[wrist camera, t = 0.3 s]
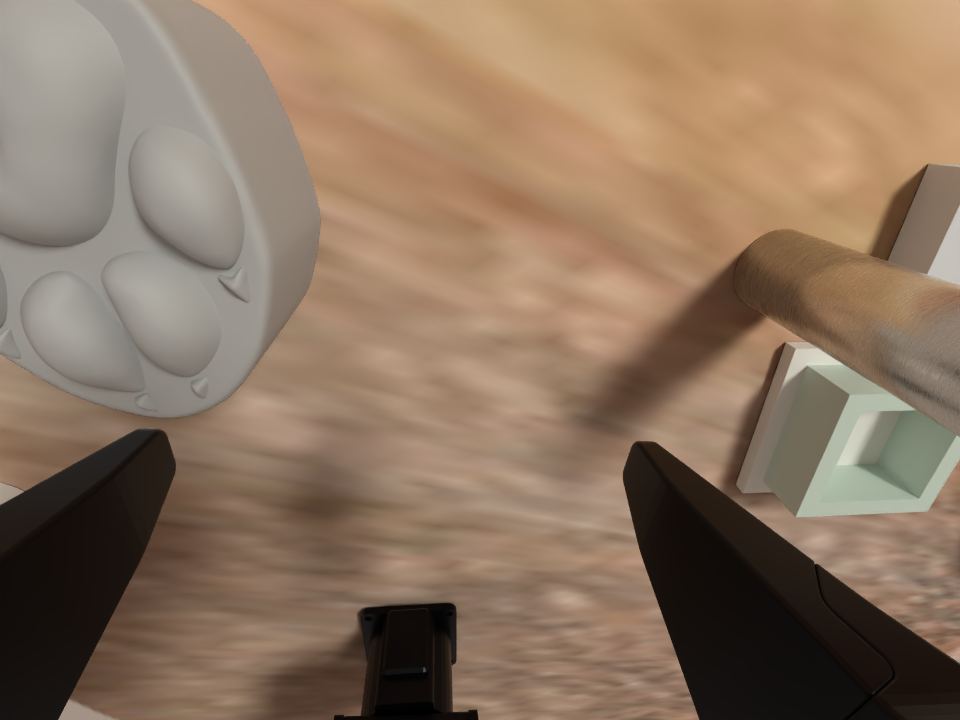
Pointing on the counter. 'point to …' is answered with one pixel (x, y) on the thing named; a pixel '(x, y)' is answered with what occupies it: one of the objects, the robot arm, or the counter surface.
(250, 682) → the counter surface
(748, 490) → the shaft rig
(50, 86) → the lumpy-topped squat cylinder
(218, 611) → the counter surface
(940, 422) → the shiny grey metal cylinder
